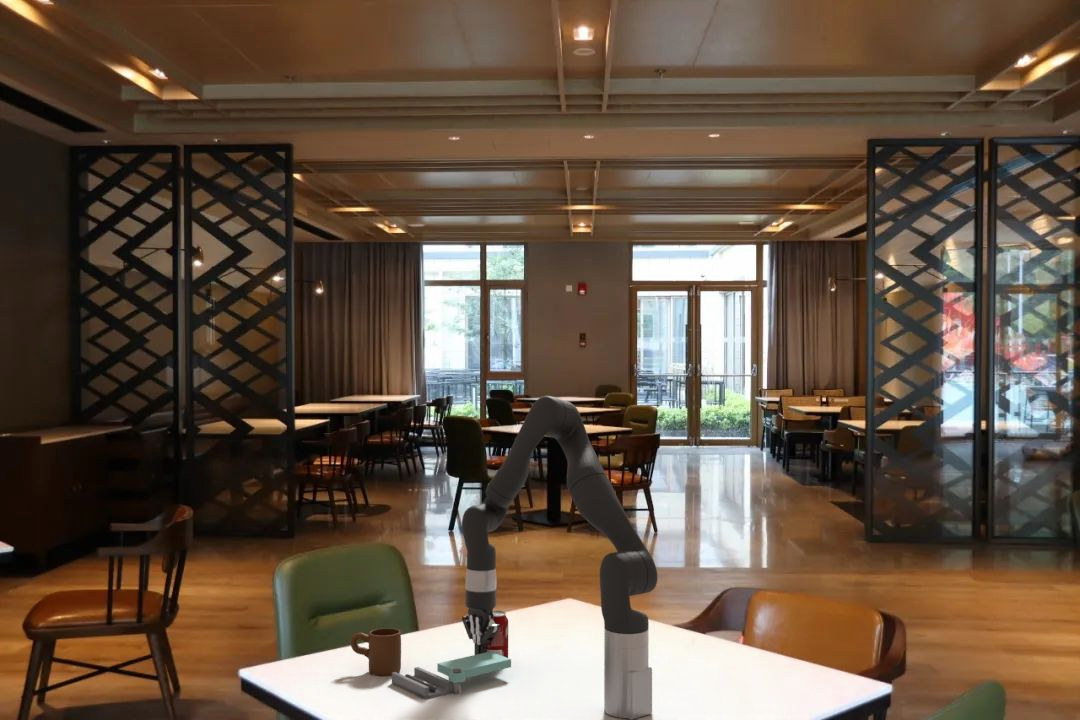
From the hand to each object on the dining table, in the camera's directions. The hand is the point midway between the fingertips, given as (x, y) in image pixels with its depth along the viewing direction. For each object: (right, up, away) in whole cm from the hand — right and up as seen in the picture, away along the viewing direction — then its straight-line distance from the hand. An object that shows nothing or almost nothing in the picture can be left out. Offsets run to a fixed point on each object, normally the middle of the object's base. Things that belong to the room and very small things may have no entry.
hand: (480, 659), depth 233 cm
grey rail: (-11, -1, -17) cm, 20 cm away
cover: (-1, +1, -13) cm, 13 cm away
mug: (-24, -2, -5) cm, 25 cm away
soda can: (+3, -2, +3) cm, 5 cm away
